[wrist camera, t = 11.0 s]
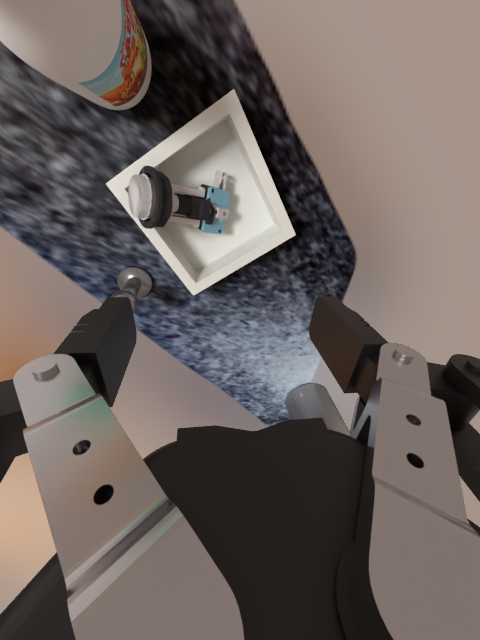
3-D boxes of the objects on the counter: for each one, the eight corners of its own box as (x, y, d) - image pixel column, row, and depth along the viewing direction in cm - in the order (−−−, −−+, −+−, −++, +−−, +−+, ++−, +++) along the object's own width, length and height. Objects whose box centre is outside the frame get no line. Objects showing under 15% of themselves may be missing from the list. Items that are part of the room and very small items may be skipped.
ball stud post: (159, 285, 35) (149, 313, 29) (134, 300, 36) (120, 331, 30) (137, 260, 33) (121, 284, 27) (111, 276, 34) (90, 304, 27)
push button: (215, 170, 29) (126, 141, 22) (245, 177, 26) (151, 147, 19) (205, 228, 32) (123, 218, 25) (230, 242, 29) (144, 234, 22)
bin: (284, 225, 33) (295, 234, 29) (194, 280, 36) (193, 295, 32) (228, 99, 25) (234, 88, 21) (119, 180, 28) (105, 183, 24)
